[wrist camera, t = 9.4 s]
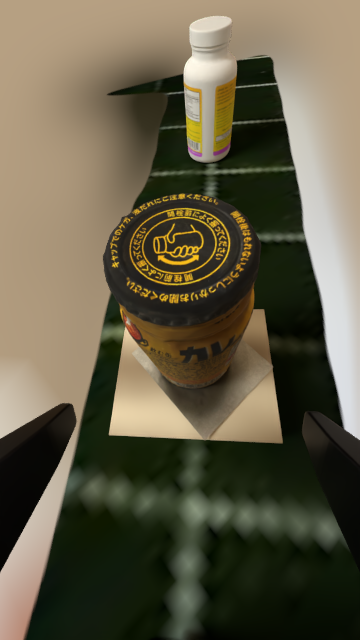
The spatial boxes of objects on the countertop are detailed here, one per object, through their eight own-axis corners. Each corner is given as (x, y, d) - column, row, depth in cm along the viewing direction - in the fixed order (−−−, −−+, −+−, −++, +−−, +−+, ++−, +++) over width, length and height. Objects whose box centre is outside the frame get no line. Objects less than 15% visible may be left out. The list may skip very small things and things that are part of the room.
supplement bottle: (231, 140, 36) (244, 9, 25) (227, 165, 34) (240, 31, 22) (191, 141, 38) (186, 15, 26) (185, 164, 35) (175, 37, 23)
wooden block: (266, 438, 18) (282, 443, 14) (126, 432, 19) (109, 435, 16) (254, 327, 22) (264, 309, 19) (139, 328, 24) (127, 311, 20)
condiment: (195, 299, 20) (185, 151, 9) (273, 367, 17) (403, 266, 6) (132, 354, 18) (26, 255, 7) (205, 440, 15) (208, 490, 4)
